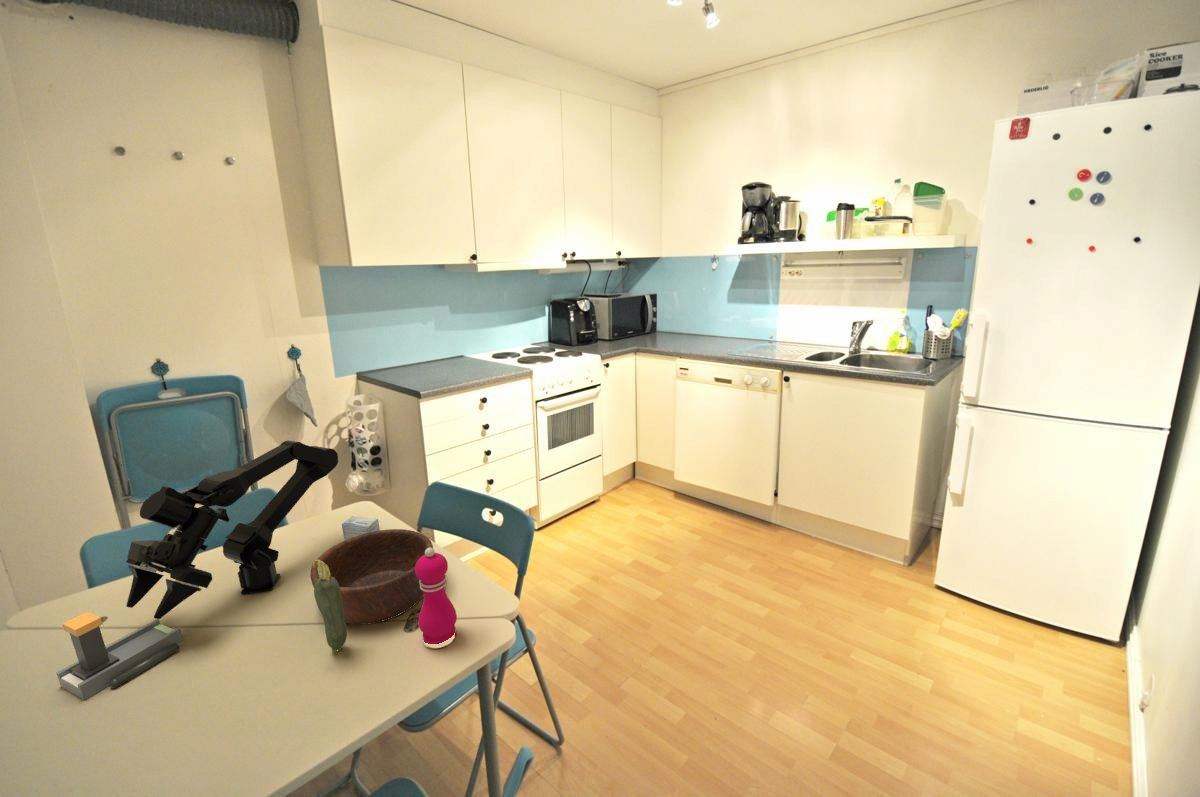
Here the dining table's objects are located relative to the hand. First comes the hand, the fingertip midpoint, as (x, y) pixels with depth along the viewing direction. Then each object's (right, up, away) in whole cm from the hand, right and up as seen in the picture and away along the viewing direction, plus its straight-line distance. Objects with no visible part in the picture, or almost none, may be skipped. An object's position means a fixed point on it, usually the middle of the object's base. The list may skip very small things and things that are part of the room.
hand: (142, 612), depth 105 cm
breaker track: (-2, -9, -2) cm, 9 cm away
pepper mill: (+57, -6, +2) cm, 57 cm away
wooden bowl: (+39, -3, +16) cm, 43 cm away
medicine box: (+28, +2, +36) cm, 45 cm away
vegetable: (+38, -8, -1) cm, 39 cm away
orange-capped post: (-3, -8, -6) cm, 10 cm away
